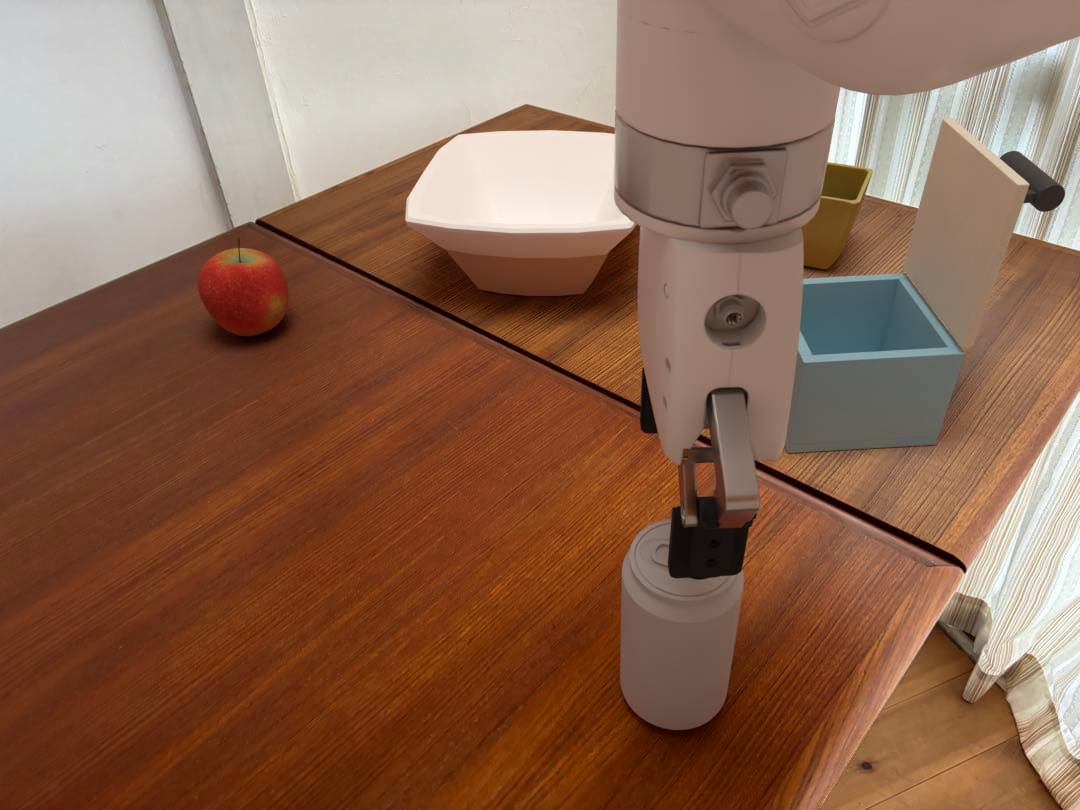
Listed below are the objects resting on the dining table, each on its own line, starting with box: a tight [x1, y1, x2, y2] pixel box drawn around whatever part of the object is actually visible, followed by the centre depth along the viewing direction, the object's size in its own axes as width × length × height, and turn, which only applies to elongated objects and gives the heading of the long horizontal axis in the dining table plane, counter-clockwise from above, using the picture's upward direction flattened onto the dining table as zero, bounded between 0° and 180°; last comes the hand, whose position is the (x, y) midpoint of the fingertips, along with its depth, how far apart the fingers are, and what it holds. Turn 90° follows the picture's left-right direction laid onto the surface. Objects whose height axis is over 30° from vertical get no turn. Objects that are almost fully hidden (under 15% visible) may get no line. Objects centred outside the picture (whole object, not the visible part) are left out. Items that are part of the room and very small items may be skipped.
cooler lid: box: [902, 117, 1066, 349], centre depth 62 cm, size 13×12×5 cm
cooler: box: [784, 272, 966, 454], centre depth 69 cm, size 12×12×9 cm
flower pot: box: [801, 161, 874, 270], centre depth 89 cm, size 9×9×9 cm
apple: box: [197, 236, 289, 337], centre depth 82 cm, size 8×8×10 cm
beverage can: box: [619, 518, 745, 731], centre depth 48 cm, size 6×6×12 cm
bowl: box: [404, 129, 638, 297], centre depth 89 cm, size 24×25×11 cm
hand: (685, 493), depth 41 cm, fingers open, 9 cm apart
